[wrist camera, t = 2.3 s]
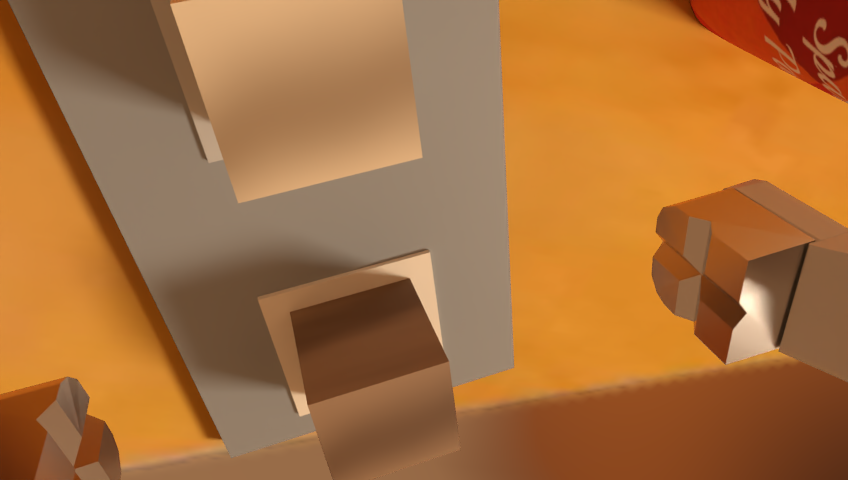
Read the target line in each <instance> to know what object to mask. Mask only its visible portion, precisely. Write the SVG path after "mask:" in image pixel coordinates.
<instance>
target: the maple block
mask: <svg viewBox="0 0 848 480" xmlns="http://www.w3.org/2000/svg"><path fill="white" fill-rule="evenodd" d="M170 5H171V8H172V11H173V14H174V17H175V20H176V23H177V26H178V29H179V31H180V34H181V37H182V40H183V43H184V46H185V49H186V52H187V55H188V58H189V61H190V64H191V66H192V69H193V72H194V75H195V78H196V81H197V84H198V87H199V90H200V93H201V96H202V99H203V102H204V104H205V107H206V110H207V113H208V116H209V119H210V122H211V125H212V128H213V131H214V134H215V137H216V140H217V142H218V145H219V148H220V151H221V154H222V157H223V160H224V163H225V166H226V169H227V172H228V175H229V178H230V180H231V183H232V186H233V189H234V192H235V195H236V198H237V201H238V203H242V202H246V201H250V200H254V199H258V198H262V197H266V196H270V195H274V194H278V193H282V192H286V191H290V190H295V189H299V188H303V187H307V186H311V185H315V184H319V183H323V182H327V181H331V180H335V179H339V178H343V177H347V176H351V175H355V174H359V173H363V172H367V171H371V170H375V169H379V168H383V167H387V166H391V165H395V164H399V163H403V162H407V161H411V160H415V159H419V158H423V157H422V149H421V141H420V134H419V126H418V118H417V111H416V103H415V95H414V88H413V80H412V72H411V64H410V57H409V49H408V41H407V34H406V26H405V18H404V11H403V3H402V0H171V1H170Z"/></svg>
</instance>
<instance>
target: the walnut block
mask: <svg viewBox="0 0 848 480" xmlns="http://www.w3.org/2000/svg"><path fill="white" fill-rule="evenodd" d="M290 316H291V321H292V327H293V332H294V337H295V342H296V348H297V353H298V358H299V363H300V369H301V374H302V379H303V384H304V390H305V395H306V400H307V405H308V408H309V411H310V414H311V417H312V420H313V423H314V426H315V429H316V432H317V435H318V438H319V441H320V444H321V446H322V449H323V452H324V455H325V458H326V461H327V464H328V467H329V470H330V473H331V476H332V478H333V480H372V479H375V478H378V477H381V476H384V475H387V474H390V473H393V472H396V471H398V470H401V469H404V468H407V467H410V466H413V465H416V464H419V463H422V462H425V461H428V460H431V459H434V458H437V457H440V456H443V455H445V454H448V453H452V452H454V451H457V450H460V442H459V434H458V426H457V418H456V411H455V403H454V395H453V388H452V380H451V372H450V365H449V360H448V358H447V356H446V354H445V352H444V350H443V347H442V345H441V343H440V341H439V339H438V337H437V335H436V333H435V331H434V328H433V326H432V324H431V322H430V320H429V318H428V316H427V314H426V311H425V309H424V307H423V305H422V303H421V301H420V299H419V297H418V295H417V292H416V290H415V288H414V286H413V284H412V282H411V280H410V278H408V279H405V280H401V281H398V282H394V283H390V284H387V285H383V286H380V287H376V288H373V289H369V290H366V291H362V292H359V293H355V294H352V295H348V296H345V297H341V298H338V299H334V300H330V301H327V302H323V303H320V304H316V305H313V306H309V307H306V308H302V309H299V310H295V311H292V312H290Z"/></svg>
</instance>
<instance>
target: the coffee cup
mask: <svg viewBox="0 0 848 480" xmlns="http://www.w3.org/2000/svg"><path fill="white" fill-rule="evenodd" d="M690 4H691V7H692V10H693V12H694V14H695V16H696V17H697V19H698V20H699V21H700V23H701V24H702V25H703V26H705V27H706V28H707V29H708V30H710V31H711V32H713V33H714V34H716V35H717V36H719V37H721V38H722V39H724V40H726V41H728V42H730V43H732V44H733V45H735V46H737V47H739V48H741V49H743V50H744V51H746V52H748V53H750V54H752V55H754V56H756V57H758V58H760V59H762V60H764V61H766V62H768V63H770V64H772V65H773V66H775V67H777V68H779V69H781V70H783V71H785V72H787V73H789V74H791V75H793V76H795V77H797V78H799V79H801V80H803V81H805V82H807V83H809V84H811V85H813V86H815V87H817V88H818V89H820V90H822V91H824V92H826V93H828V94H830V95H832V96H834V97H836V98H838V99H840V100H842V101H844V102H846V103H848V0H690Z"/></svg>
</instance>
